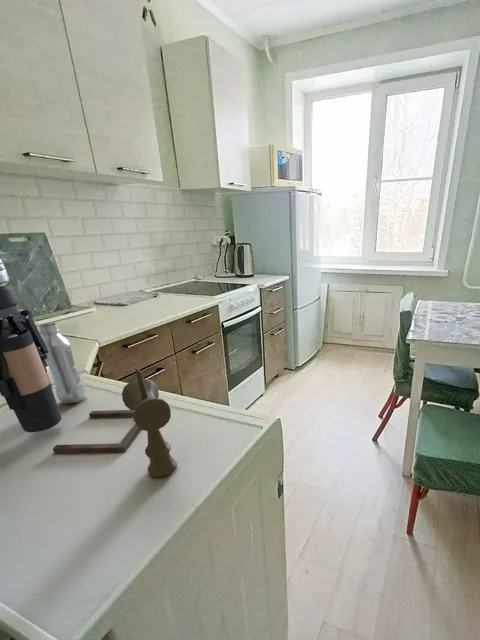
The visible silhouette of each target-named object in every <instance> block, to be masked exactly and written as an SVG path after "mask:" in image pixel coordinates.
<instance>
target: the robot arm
mask: <svg viewBox="0 0 480 640" xmlns="http://www.w3.org/2000/svg"><path fill="white" fill-rule="evenodd" d="M8 282H10V276H9V275H8V272H7V269H6V267H5V263H4V262H3V259H2V255H1V254H0V339H6V338H8V337H9V336H10V335H11V334H17V335H22V334H24V333H26V329H28V330H29V331H30V333H31V336H32V339H33V341H34V344H35V346H36V349H37V351H38V354H39V356H40V359H41V361H42V364H43V366H44V369H45V372H46V374H47V377H48V379H49V382H50V385H51V388H52V389H53V385H52V383H51V381H50V377H49V374H48V371H47V370H48V368H47V367H46V364H45V360H46V359H47V355H45V354H47V353H48V349H47V347H46V345H45V343H44V341H43V339H42V337H43V336H42V335H41V334H40V330H39V328H38V327H37V325H36V323H35V321H34V318H33V314H32V310H31V309H30V308H27V309H26V308H25V309H23V308H22V309H18V308H17V305H18V304H19V299H18V297H17V294H16V291H15V289H14V286H13V285H11V284H10V283H8ZM39 347H40V348H39ZM0 396H1V397H4V399H5V401H6V404H7V406H8V409H9V410H10V411H14V410H15V409H24V408H26V406H25V404H24V401H23V399H22V397H21V394H20V392H19V390H18V387H17V385H16V383H15V380H14V378H9V375H8V363H7V361H6V358H5V356H4V353H3V351H2V349H1V347H0Z"/></svg>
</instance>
